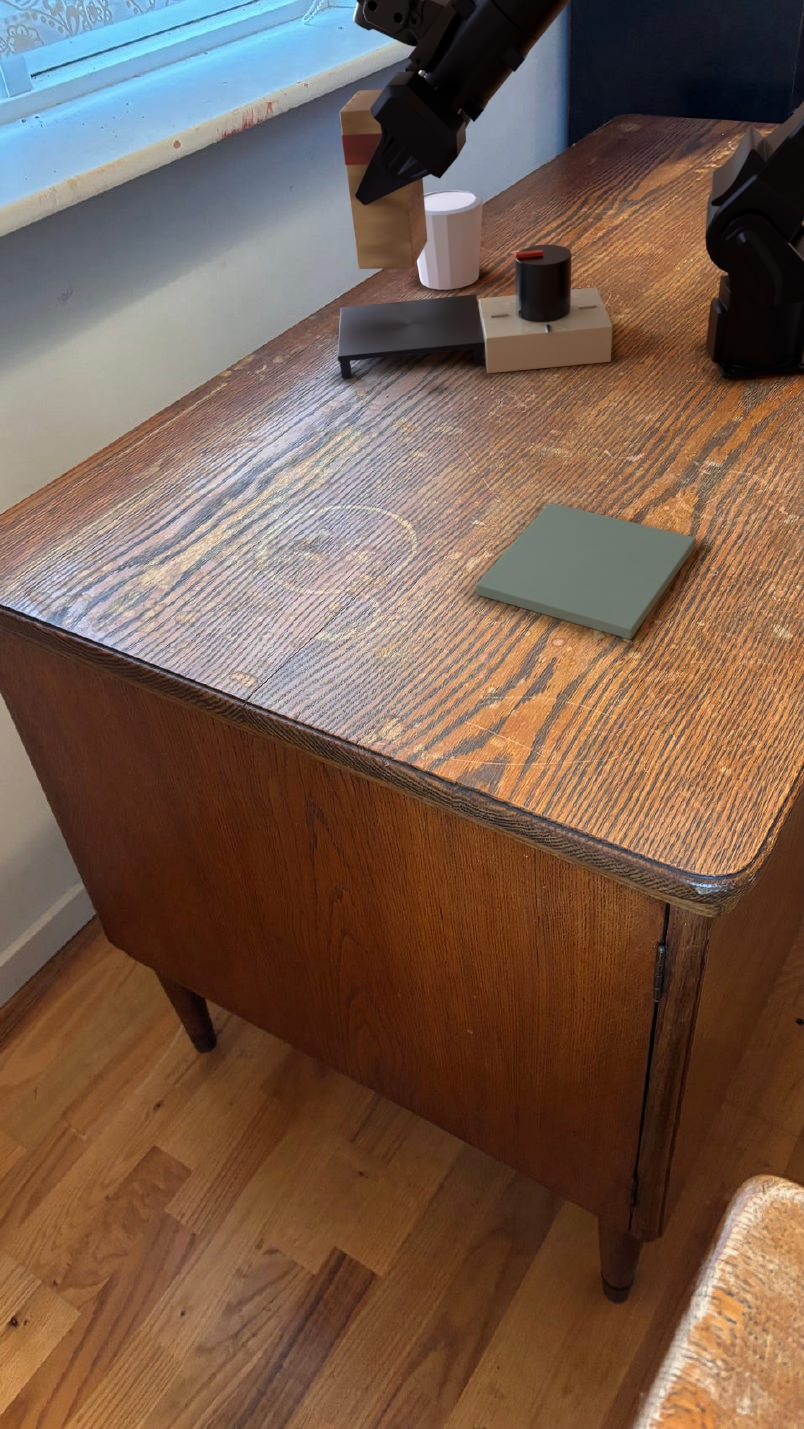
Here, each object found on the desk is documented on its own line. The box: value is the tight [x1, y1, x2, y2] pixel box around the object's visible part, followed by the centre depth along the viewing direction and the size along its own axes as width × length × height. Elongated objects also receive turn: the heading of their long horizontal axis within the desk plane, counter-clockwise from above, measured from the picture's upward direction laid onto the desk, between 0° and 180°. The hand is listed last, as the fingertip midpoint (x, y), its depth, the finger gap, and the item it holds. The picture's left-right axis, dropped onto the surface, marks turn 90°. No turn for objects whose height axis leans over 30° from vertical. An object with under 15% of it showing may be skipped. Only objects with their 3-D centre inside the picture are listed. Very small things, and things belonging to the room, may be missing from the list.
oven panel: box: [478, 286, 614, 374], centre depth 87 cm, size 10×9×3 cm
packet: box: [339, 88, 427, 270], centre depth 79 cm, size 4×6×11 cm
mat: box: [475, 502, 697, 640], centre depth 64 cm, size 10×10×1 cm
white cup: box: [416, 189, 484, 291], centre depth 98 cm, size 7×7×7 cm
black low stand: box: [337, 294, 485, 379], centre depth 89 cm, size 12×10×2 cm
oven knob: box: [514, 244, 572, 322], centre depth 84 cm, size 4×4×5 cm
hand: (369, 187), depth 80 cm, fingers closed on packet, 5 cm apart
